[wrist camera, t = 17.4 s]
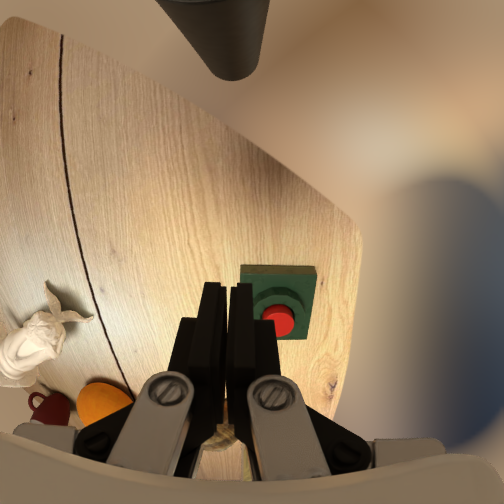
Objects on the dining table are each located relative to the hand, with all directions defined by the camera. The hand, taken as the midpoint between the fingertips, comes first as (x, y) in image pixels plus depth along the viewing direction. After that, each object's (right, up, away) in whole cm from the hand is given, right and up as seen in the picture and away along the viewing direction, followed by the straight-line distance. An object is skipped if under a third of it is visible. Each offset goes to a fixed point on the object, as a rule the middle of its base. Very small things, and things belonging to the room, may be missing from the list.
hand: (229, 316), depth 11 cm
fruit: (-26, -25, +37) cm, 52 cm away
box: (+4, -4, +28) cm, 28 cm away
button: (+4, -5, +25) cm, 25 cm away
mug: (-42, -29, +39) cm, 64 cm away
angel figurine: (-33, -8, +29) cm, 45 cm away
